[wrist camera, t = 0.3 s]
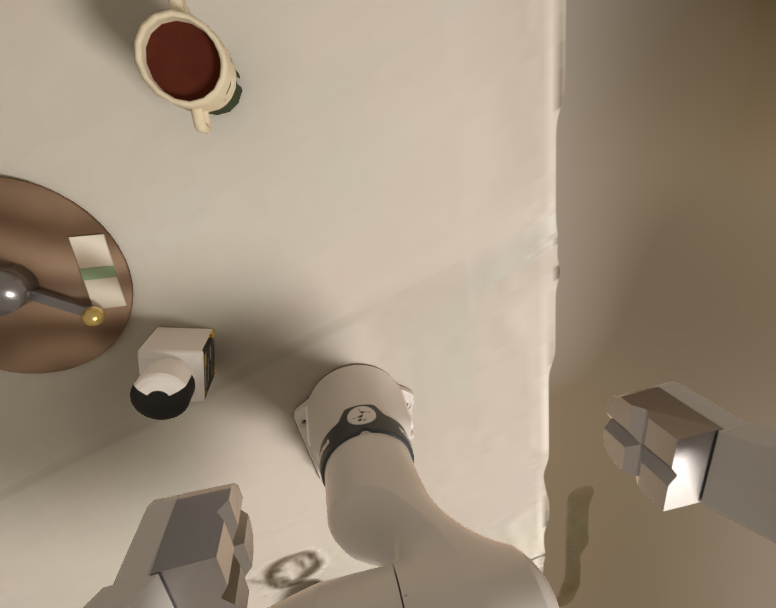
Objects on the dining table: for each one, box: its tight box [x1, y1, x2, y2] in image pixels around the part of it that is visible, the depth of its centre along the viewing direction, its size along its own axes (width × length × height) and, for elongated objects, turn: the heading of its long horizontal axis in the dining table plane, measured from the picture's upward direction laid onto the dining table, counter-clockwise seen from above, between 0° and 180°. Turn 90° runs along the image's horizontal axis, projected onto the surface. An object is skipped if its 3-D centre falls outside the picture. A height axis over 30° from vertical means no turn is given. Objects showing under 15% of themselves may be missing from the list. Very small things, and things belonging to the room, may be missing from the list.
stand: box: [0, 177, 133, 373], centre depth 47 cm, size 24×24×1 cm
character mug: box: [134, 0, 242, 134], centre depth 39 cm, size 11×7×13 cm, turn 3°
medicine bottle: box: [130, 327, 215, 420], centre depth 49 cm, size 7×7×12 cm
